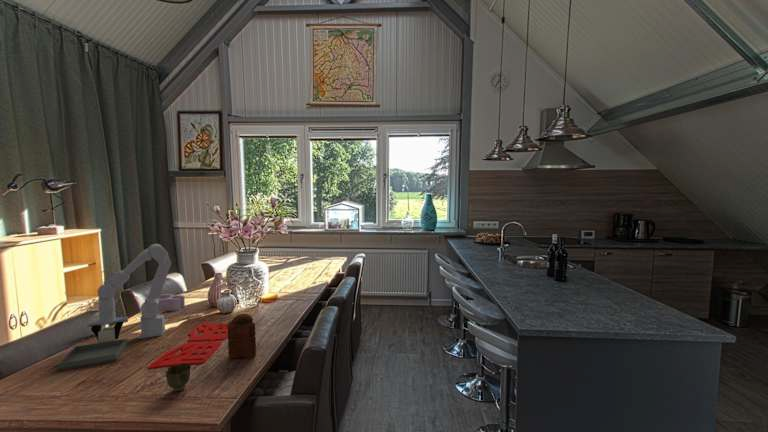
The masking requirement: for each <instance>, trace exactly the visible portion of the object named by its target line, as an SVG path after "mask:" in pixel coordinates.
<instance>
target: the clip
mask: <svg viewBox="0 0 768 432" xmlns="http://www.w3.org/2000/svg"><path fill="white" fill-rule="evenodd" d="M145 300H146V298H145V299H144V301H145ZM185 300H186V299H185V295H183V294H178V295H176V294H171V293H165V294H162V293H161V295H160V297H159V304H158V313H159V312H167V311H171V312H174V311H175V312H176V311H179V310H182V308H183V309H184V308H185V307H186V304H185V303H186V302H185Z"/></svg>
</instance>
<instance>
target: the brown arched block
mask: <svg viewBox="0 0 768 432" xmlns="http://www.w3.org/2000/svg"><path fill="white" fill-rule="evenodd" d="M227 330H228V338H227V344H228V347H227V349H228V350H227V351H228V358H230V359H250V358H251V359H252V358H255V357H256V356H257V355H256V353H257V343H256V342H257V340H256V335H257V334H256V324H255V323H254V318H253V316H252V315H250V314H248V313H240V314H237V315H235V316H234V317H233V318H232V320H230V321H228V328H227Z"/></svg>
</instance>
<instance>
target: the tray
mask: <svg viewBox="0 0 768 432" xmlns="http://www.w3.org/2000/svg"><path fill="white" fill-rule="evenodd" d="M127 346H128V338H123V339H122V338H121V339H118V340H114V341H108V342H101V343H99V342H96V343H95V342H94V343H87V344H84V345H83V344H82V345H76V346H74V347H73V348H72V349H71V350H69V352H68V353H67V354H65V356H63V358H62V359H61V360H59V361H58V362H57V372H62V371H67V370H73V369H80V368H85V367H91V366H96V365H97V366H98V365H101V364H102V365H103V364H107V363H108V364H109V363H113V362H114V363H115V362H117V361H118V360H119V358H120V357H121V355H122V354H123V352H124V351H125V350H126V348H127Z"/></svg>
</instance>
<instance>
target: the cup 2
mask: <svg viewBox="0 0 768 432" xmlns="http://www.w3.org/2000/svg"><path fill="white" fill-rule="evenodd" d="M191 367H192V365H191V364H188V363H187V365H186V363H181V364H180V365H178V364H177V365H176V366H175V365H172V366H168V368H167V370H165V371H164V373H165V376H166V382H167V385H168V386H169V387H170V388H171V389H172V391H173V392H174V393H180V392H182V391H183V390H184V389H186V385H187V384H188V383H189V380H190V378H191V377H190V376H191Z"/></svg>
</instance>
